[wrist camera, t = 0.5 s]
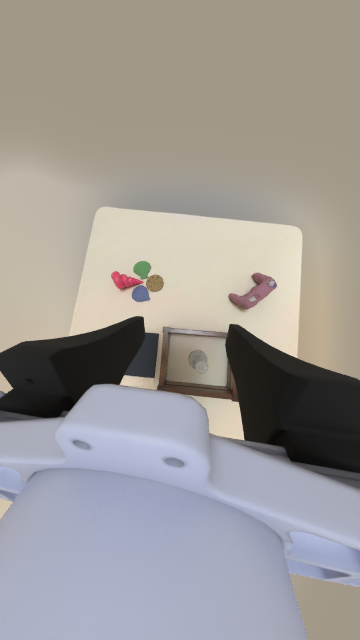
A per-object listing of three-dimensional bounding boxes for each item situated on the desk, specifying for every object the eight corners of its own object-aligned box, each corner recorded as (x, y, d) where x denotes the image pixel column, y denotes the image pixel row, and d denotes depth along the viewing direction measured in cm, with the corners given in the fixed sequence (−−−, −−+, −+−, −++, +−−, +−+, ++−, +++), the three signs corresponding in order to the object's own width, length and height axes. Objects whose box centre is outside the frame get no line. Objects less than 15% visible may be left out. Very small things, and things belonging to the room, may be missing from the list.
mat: (154, 377, 34) (154, 378, 34) (112, 373, 35) (111, 373, 35) (158, 333, 36) (158, 333, 35) (117, 330, 36) (117, 330, 36)
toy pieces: (127, 309, 37) (119, 306, 32) (113, 273, 38) (104, 265, 34) (168, 291, 37) (165, 285, 33) (152, 256, 38) (148, 246, 34)
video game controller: (233, 308, 37) (253, 313, 31) (225, 295, 36) (244, 297, 29) (260, 285, 38) (285, 285, 31) (253, 271, 36) (278, 268, 30)
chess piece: (195, 371, 34) (199, 385, 24) (185, 356, 35) (185, 364, 25) (209, 361, 34) (219, 372, 24) (199, 346, 35) (205, 351, 25)
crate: (231, 392, 33) (239, 402, 28) (160, 385, 34) (156, 393, 29) (233, 333, 35) (241, 333, 30) (166, 327, 36) (163, 326, 31)
